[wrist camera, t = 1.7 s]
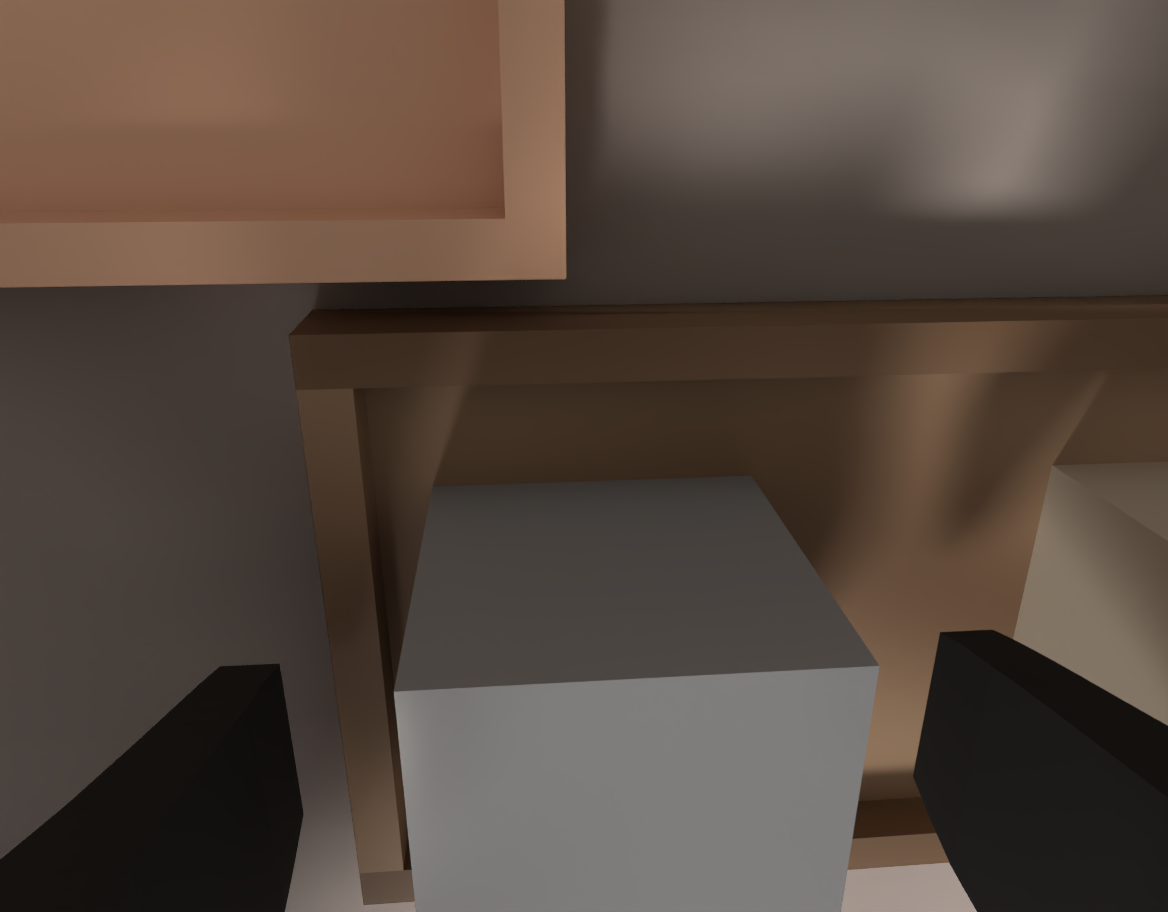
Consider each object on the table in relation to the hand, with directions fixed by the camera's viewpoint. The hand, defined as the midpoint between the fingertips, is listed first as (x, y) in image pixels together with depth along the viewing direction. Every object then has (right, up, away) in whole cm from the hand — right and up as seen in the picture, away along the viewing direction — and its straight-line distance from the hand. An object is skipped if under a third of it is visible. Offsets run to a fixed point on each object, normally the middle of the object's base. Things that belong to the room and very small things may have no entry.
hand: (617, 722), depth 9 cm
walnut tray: (+4, +1, +3) cm, 5 cm away
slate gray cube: (0, +1, +2) cm, 2 cm away
